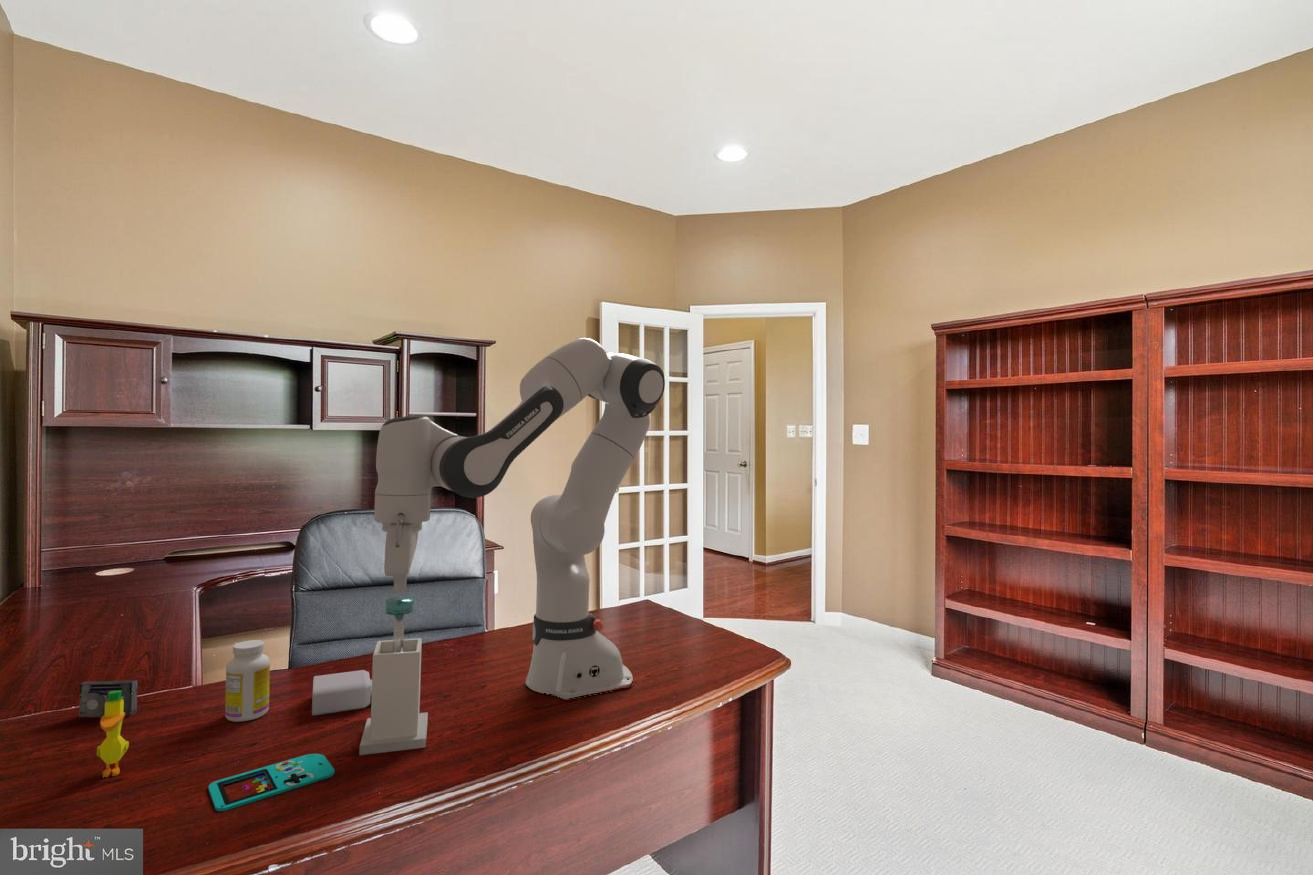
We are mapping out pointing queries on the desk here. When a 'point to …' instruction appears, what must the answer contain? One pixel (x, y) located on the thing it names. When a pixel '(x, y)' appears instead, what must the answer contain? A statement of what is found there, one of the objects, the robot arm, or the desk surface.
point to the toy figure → (112, 733)
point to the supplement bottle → (247, 682)
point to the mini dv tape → (106, 697)
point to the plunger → (399, 618)
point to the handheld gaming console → (274, 779)
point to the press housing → (395, 700)
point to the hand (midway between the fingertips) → (400, 591)
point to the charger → (341, 692)
